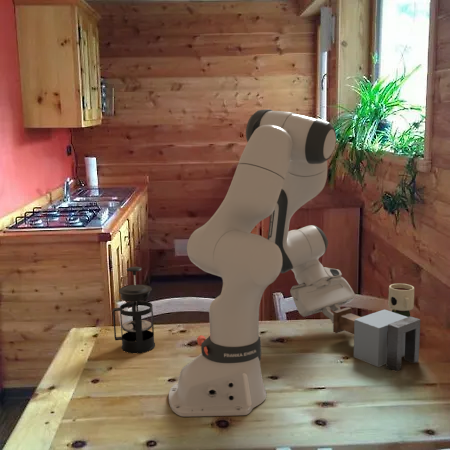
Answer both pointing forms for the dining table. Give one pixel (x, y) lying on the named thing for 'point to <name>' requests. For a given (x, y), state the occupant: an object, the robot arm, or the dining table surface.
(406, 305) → the character mug
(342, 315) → the shaft
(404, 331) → the block
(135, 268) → the french press
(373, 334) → the grey rectangular block
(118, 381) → the dining table surface
